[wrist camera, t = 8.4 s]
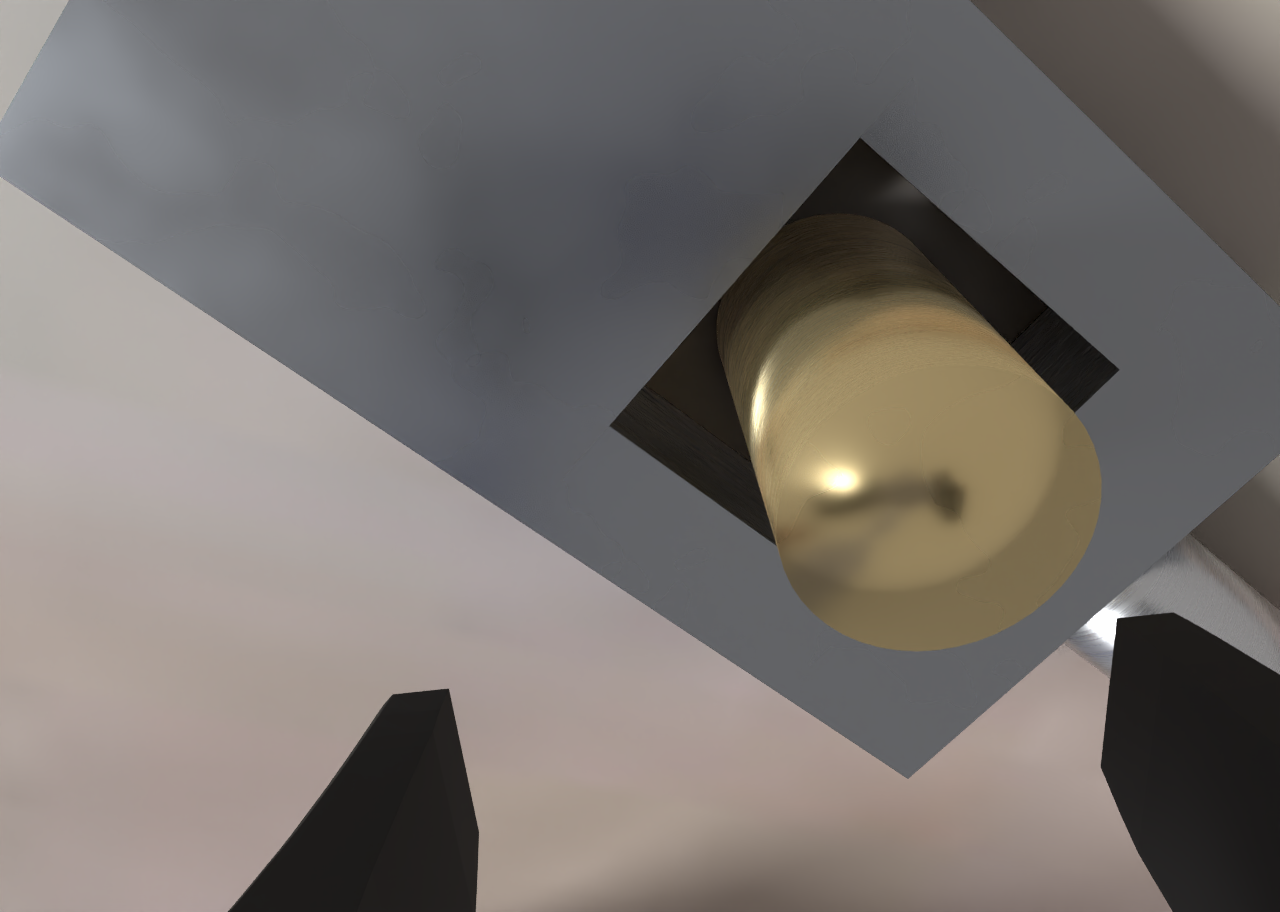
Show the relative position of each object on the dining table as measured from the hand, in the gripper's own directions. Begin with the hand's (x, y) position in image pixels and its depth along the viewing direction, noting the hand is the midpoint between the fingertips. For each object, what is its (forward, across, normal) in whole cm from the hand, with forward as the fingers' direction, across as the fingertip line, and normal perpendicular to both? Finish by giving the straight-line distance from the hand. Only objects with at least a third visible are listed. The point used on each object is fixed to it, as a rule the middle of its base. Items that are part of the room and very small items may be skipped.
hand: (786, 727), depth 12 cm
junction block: (+9, 0, -3) cm, 10 cm away
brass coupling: (+9, -2, -1) cm, 10 cm away
